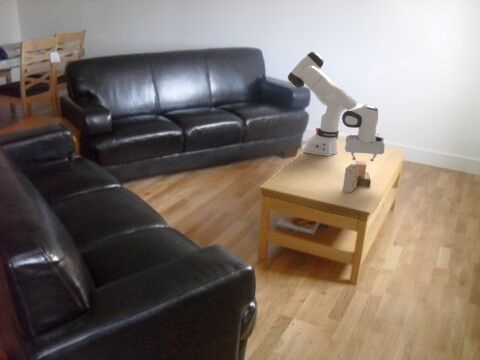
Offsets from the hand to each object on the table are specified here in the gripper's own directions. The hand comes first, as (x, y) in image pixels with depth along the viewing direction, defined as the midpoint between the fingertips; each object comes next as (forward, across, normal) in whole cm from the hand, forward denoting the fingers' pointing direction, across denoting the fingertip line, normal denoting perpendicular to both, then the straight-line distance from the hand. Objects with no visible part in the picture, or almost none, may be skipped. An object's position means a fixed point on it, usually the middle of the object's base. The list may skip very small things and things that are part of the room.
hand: (362, 160), depth 261 cm
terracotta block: (+8, -1, 0) cm, 8 cm away
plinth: (+12, -1, 0) cm, 12 cm away
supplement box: (+12, -7, -12) cm, 19 cm away
